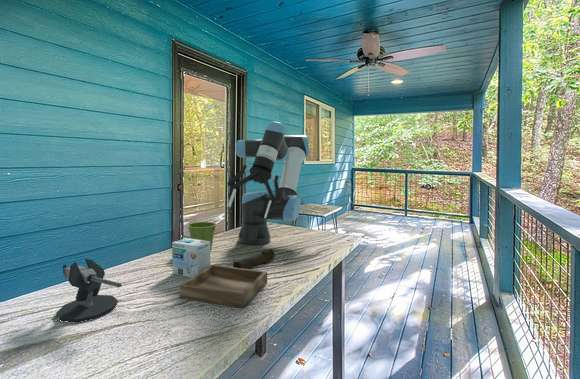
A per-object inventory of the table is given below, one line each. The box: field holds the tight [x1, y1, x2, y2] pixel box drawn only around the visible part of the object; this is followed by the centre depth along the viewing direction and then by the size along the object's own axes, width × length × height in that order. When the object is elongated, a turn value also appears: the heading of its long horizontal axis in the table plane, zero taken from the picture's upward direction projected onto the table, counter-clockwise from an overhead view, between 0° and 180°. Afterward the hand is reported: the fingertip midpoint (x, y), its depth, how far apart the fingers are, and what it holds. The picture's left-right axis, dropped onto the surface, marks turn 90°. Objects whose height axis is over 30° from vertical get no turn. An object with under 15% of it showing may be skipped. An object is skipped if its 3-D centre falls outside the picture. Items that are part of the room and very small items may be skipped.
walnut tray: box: [179, 264, 268, 309], centre depth 86 cm, size 17×19×4 cm
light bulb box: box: [171, 237, 211, 279], centre depth 98 cm, size 11×7×11 cm, turn 68°
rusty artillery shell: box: [232, 248, 275, 269], centre depth 106 cm, size 19×4×5 cm, turn 138°
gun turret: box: [55, 258, 123, 323], centre depth 72 cm, size 13×20×13 cm, turn 68°
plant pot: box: [186, 221, 218, 252], centre depth 121 cm, size 12×12×11 cm
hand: (247, 212), depth 107 cm, fingers open, 13 cm apart
